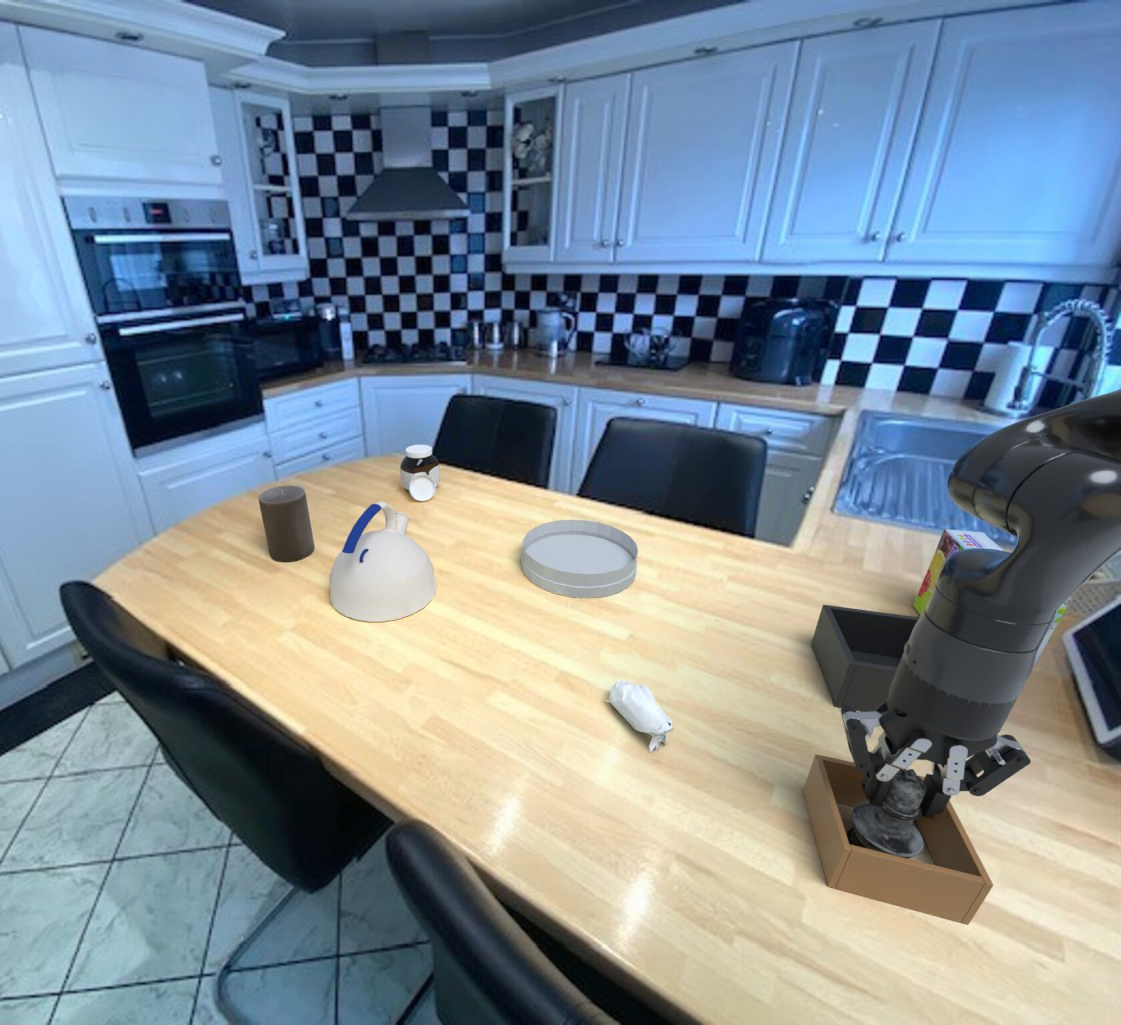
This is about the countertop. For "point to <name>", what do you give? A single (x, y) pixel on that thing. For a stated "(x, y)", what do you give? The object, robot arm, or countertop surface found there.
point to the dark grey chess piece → (891, 819)
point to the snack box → (957, 542)
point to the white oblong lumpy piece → (641, 711)
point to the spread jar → (420, 472)
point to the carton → (886, 877)
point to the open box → (860, 653)
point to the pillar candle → (286, 523)
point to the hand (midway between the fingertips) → (897, 803)
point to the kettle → (381, 571)
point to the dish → (579, 558)
